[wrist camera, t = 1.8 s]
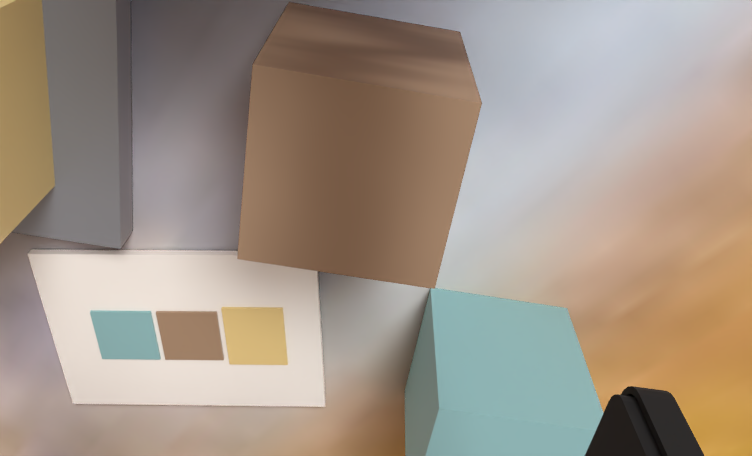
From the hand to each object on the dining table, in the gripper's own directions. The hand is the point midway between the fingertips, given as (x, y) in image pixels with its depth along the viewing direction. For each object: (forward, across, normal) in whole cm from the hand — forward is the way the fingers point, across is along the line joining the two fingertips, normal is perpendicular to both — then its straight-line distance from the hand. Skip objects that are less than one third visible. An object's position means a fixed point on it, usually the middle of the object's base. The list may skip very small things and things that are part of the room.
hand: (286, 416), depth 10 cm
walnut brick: (+13, -1, 0) cm, 13 cm away
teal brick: (+13, -7, +9) cm, 17 cm away
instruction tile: (+13, +4, +10) cm, 17 cm away
